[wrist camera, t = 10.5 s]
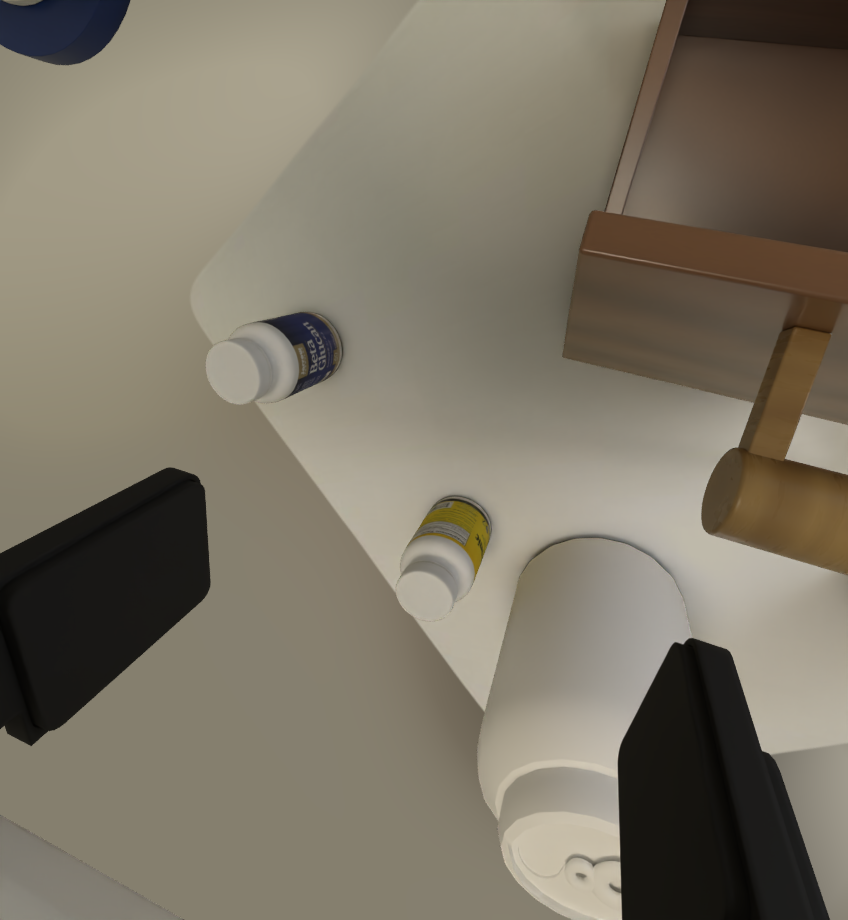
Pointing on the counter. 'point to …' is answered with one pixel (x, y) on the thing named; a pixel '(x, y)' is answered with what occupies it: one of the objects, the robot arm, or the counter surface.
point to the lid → (730, 360)
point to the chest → (743, 122)
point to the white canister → (573, 715)
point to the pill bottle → (274, 358)
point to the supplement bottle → (443, 558)
